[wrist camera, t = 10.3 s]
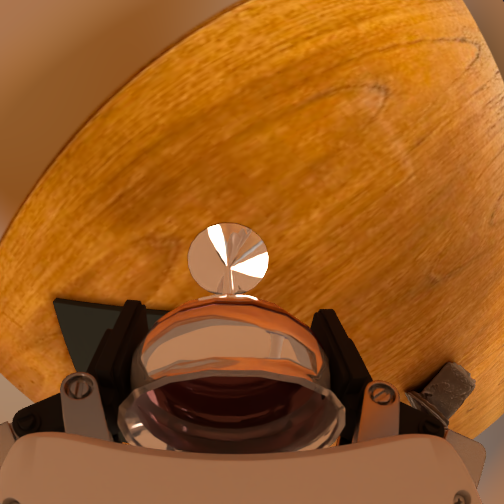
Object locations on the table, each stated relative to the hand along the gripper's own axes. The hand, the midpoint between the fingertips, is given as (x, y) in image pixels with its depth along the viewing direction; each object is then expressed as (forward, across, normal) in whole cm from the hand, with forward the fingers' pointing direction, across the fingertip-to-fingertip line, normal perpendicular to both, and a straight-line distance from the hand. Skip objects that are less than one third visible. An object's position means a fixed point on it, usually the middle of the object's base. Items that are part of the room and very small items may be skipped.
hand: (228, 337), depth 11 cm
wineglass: (+7, 0, 0) cm, 7 cm away
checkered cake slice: (+7, -26, +16) cm, 31 cm away
